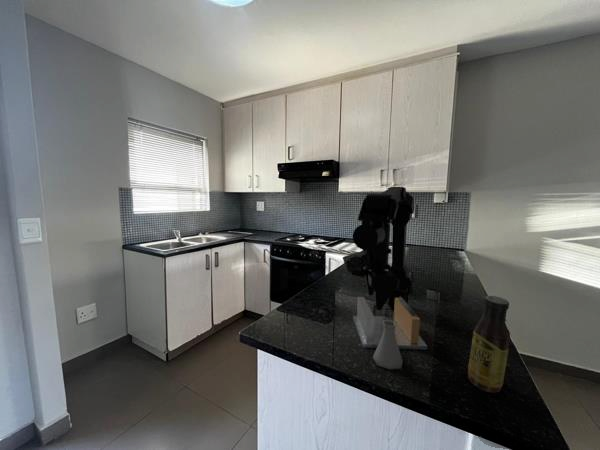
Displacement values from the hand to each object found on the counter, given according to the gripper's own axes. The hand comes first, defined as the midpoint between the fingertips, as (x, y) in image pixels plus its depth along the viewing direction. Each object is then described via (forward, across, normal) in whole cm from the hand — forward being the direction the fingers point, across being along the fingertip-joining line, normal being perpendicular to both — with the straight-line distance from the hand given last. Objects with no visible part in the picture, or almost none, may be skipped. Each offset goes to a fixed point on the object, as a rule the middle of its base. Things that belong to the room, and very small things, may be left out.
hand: (374, 301), depth 66 cm
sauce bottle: (+13, +11, +22) cm, 28 cm away
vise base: (+13, -9, +6) cm, 17 cm away
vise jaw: (+12, -9, +12) cm, 19 cm away
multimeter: (+13, -65, +14) cm, 68 cm away
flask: (+14, +4, +3) cm, 14 cm away
